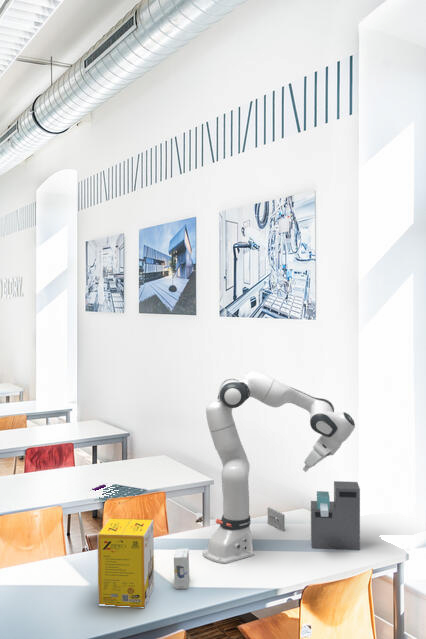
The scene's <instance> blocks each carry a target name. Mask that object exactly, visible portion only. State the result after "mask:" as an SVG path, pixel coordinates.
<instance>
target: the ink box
mask: <svg viewBox="0 0 426 639" xmlns="http://www.w3.org/2000/svg"><path fill="white" fill-rule="evenodd" d="M189 554H190V553H189V548H176V549H175V553H174V556H173V568H174V570H173V571H174V573H173V575H174V577H173V578H174V589H175V590H177V589H178V590H179V589H185V590H186V589H189V585H190V558H189V557H190V555H189Z"/></svg>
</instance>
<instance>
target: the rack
mask: <svg viewBox="0 0 426 639" xmlns="http://www.w3.org/2000/svg"><path fill="white" fill-rule="evenodd" d="M360 501H361V488H360V485H359V484H358V481H338V480H335V481H333V501H330V509H328V517H321V513H320V509H317V500H310V543H311V544H310V545H311V549H321V550H322V549H323V550H340V551H341V550H342V551H361V502H360Z"/></svg>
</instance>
